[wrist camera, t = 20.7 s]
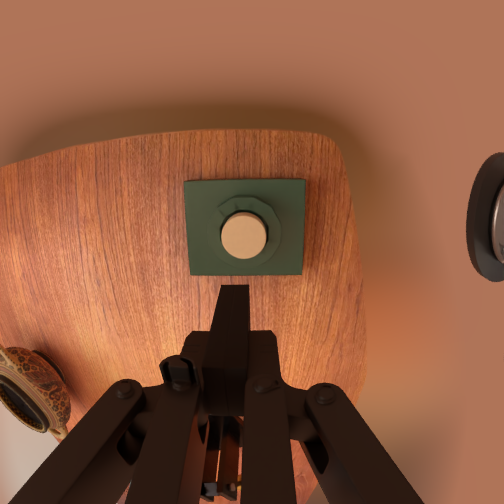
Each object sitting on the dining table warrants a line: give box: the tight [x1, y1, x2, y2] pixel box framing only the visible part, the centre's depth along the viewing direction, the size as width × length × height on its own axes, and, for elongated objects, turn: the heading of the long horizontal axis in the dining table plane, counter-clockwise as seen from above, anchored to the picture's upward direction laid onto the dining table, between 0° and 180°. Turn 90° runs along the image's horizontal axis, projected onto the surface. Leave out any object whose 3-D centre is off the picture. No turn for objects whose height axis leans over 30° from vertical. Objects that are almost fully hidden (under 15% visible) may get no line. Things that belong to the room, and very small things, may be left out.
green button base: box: [184, 178, 306, 276], centre depth 27 cm, size 12×10×4 cm
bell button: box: [221, 212, 266, 259], centre depth 25 cm, size 4×4×2 cm
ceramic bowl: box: [0, 345, 71, 439], centre depth 32 cm, size 24×18×15 cm
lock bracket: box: [200, 410, 243, 502], centre depth 34 cm, size 12×9×15 cm
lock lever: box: [204, 475, 241, 496], centre depth 32 cm, size 13×4×4 cm, turn 25°
